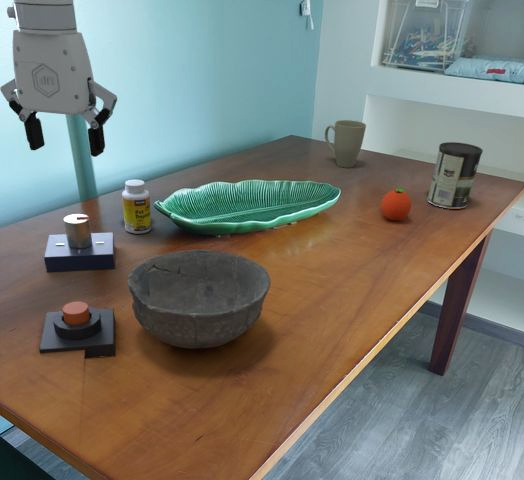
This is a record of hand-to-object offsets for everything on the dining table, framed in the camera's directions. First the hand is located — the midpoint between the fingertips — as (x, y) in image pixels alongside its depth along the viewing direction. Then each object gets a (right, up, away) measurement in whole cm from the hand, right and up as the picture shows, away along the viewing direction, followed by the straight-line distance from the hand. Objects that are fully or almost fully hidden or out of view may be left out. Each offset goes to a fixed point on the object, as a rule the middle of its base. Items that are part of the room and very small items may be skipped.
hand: (67, 151), depth 81 cm
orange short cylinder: (+2, -26, -3) cm, 26 cm away
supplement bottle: (+3, -5, +34) cm, 34 cm away
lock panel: (-5, -13, +21) cm, 25 cm away
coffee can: (+78, +8, +58) cm, 97 cm away
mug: (+54, +26, +81) cm, 101 cm away
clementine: (+61, +1, +47) cm, 77 cm away
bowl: (+20, -28, +2) cm, 35 cm away
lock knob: (-5, -10, +19) cm, 22 cm away
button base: (+2, -29, -1) cm, 29 cm away
